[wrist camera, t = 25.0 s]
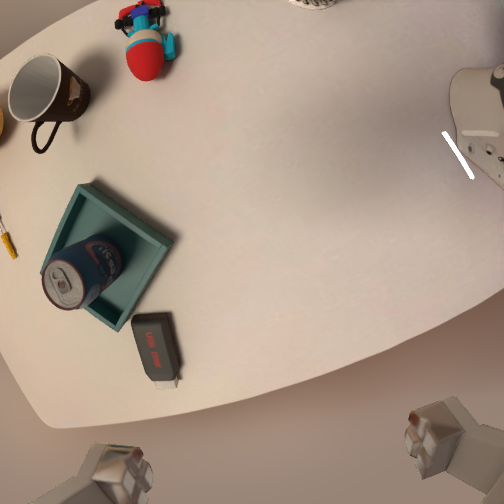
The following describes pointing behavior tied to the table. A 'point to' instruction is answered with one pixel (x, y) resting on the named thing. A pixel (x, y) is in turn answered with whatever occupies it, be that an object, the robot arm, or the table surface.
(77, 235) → the bin
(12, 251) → the purple orange rod tool
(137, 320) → the usb drive
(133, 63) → the toy figure
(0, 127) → the stress ball
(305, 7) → the decorative candle
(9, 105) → the coffee mug
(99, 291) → the soda can
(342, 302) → the table surface
